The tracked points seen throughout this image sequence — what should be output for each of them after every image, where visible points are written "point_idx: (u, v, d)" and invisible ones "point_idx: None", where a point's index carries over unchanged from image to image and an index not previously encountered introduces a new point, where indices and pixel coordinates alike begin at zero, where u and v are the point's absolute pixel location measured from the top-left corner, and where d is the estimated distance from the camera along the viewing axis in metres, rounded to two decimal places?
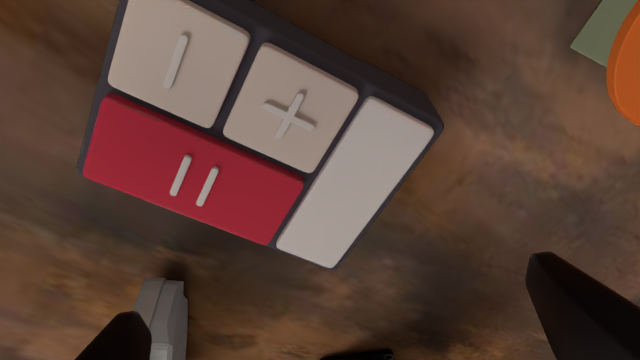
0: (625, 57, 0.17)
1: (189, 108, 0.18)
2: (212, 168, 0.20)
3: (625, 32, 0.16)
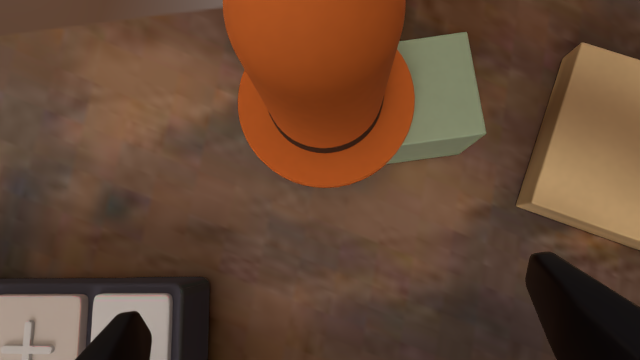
0: (259, 146, 0.19)
1: None
2: None
3: (244, 132, 0.19)
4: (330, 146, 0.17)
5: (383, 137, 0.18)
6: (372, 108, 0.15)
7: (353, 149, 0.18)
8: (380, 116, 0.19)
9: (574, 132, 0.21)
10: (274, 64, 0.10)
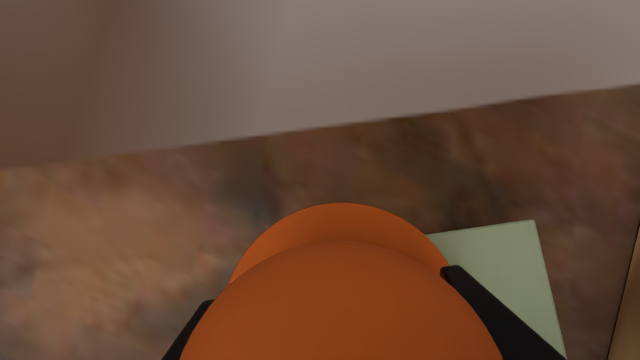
0: None
1: None
2: None
3: None
4: None
5: None
6: None
7: None
8: None
9: None
10: None
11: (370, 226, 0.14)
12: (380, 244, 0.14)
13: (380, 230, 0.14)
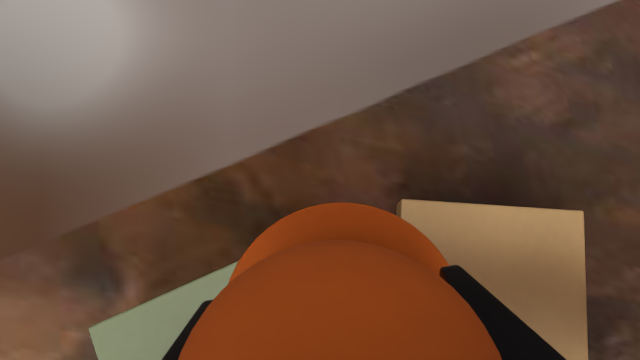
0: None
1: None
2: None
3: None
4: None
5: None
6: None
7: None
8: None
9: None
10: None
11: (369, 226, 0.14)
12: (379, 244, 0.14)
13: (379, 230, 0.14)
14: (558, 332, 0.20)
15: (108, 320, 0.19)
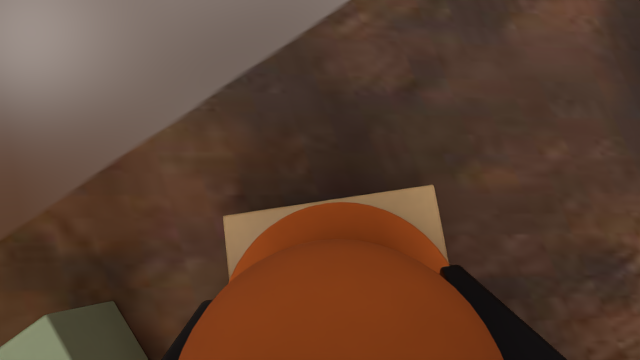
0: None
1: None
2: None
3: None
4: None
5: None
6: None
7: None
8: None
9: None
10: None
11: (370, 225, 0.14)
12: (380, 243, 0.14)
13: (380, 229, 0.14)
14: None
15: None
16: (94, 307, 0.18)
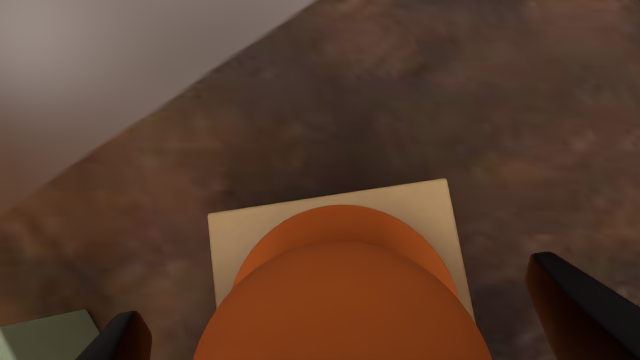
0: None
1: None
2: None
3: None
4: None
5: None
6: None
7: None
8: None
9: None
10: None
11: (369, 227, 0.15)
12: (378, 244, 0.14)
13: (378, 231, 0.15)
14: None
15: None
16: (62, 316, 0.16)
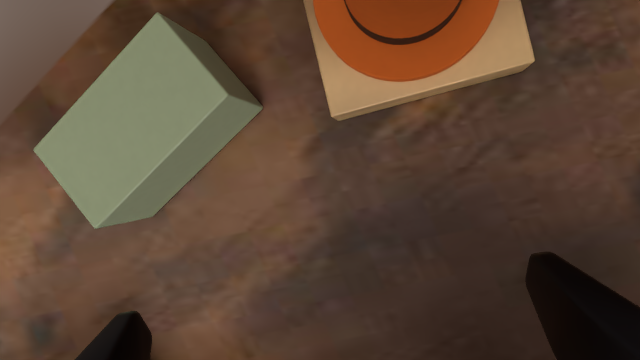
0: (341, 48, 0.19)
1: None
2: None
3: (324, 37, 0.19)
4: (416, 34, 0.17)
5: (470, 17, 0.17)
6: None
7: (439, 35, 0.18)
8: None
9: None
10: None
11: None
12: None
13: None
14: None
15: (45, 136, 0.20)
16: (192, 33, 0.21)
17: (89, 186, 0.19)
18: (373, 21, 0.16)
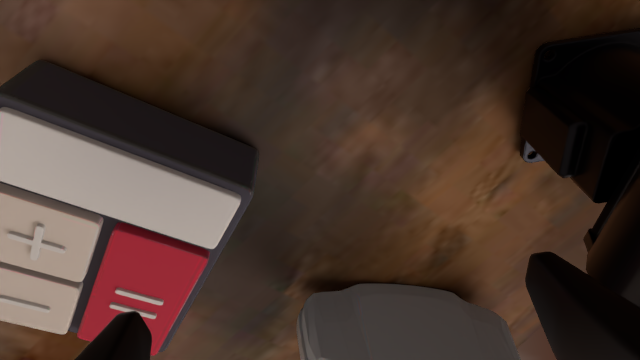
0: None
1: (64, 299, 0.22)
2: (115, 293, 0.22)
3: None
4: None
5: None
6: None
7: None
8: None
9: None
10: None
11: None
12: None
13: None
14: None
15: None
16: None
17: None
18: None
